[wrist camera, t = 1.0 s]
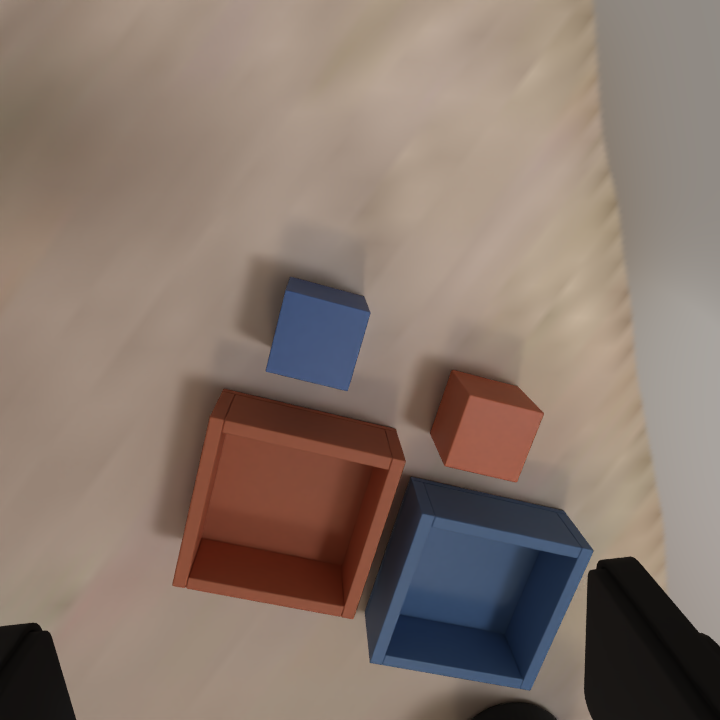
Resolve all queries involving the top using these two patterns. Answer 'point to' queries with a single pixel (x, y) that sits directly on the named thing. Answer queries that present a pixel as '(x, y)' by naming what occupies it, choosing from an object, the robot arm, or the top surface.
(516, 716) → the pen holder
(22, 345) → the top surface
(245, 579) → the terracotta bin
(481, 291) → the top surface
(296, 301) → the blue block
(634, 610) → the robot arm
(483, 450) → the terracotta block
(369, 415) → the top surface
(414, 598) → the blue bin
